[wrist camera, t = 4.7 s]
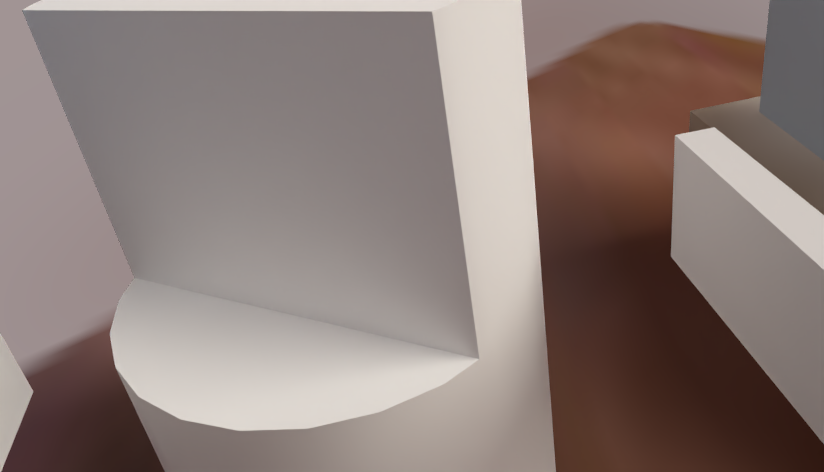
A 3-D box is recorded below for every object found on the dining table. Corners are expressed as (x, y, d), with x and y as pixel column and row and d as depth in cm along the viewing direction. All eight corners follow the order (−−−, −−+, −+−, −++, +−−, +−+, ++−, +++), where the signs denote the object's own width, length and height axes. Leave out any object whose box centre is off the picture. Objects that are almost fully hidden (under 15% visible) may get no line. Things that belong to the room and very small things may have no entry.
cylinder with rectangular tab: (604, 385, 20) (592, -94, 14) (461, 714, 14) (324, 107, 8) (326, 321, 25) (222, -71, 18) (120, 551, 18) (-150, 72, 12)
